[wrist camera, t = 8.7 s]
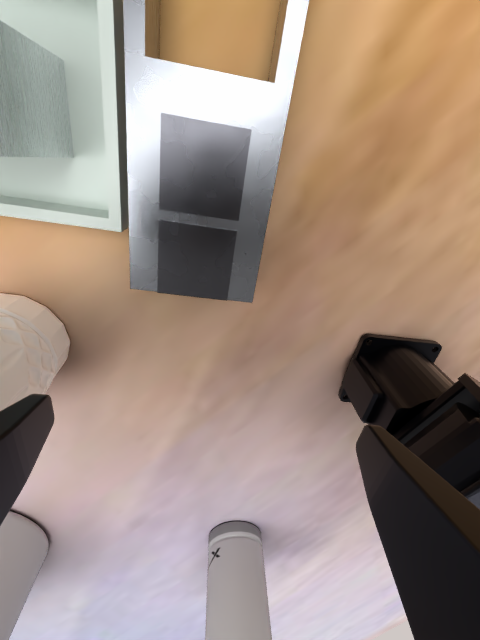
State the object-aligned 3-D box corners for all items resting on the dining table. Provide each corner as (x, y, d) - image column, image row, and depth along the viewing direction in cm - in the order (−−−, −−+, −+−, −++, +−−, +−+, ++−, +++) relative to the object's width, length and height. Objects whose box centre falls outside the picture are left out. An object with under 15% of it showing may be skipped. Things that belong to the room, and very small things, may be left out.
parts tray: (130, -7, 13) (111, -43, 11) (134, 222, 18) (121, 231, 15) (-124, -66, 12) (-205, -120, 10) (-48, 196, 17) (-92, 202, 14)
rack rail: (337, -225, 11) (376, -354, 8) (248, 283, 20) (252, 303, 17) (140, -292, 10) (110, -462, 7) (143, 271, 19) (129, 289, 17)
